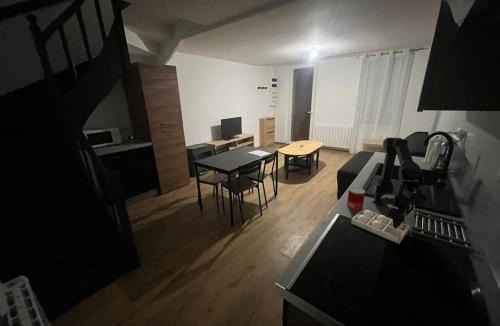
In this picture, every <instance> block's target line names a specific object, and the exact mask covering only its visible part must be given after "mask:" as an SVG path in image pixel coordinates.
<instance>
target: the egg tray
mask: <svg viewBox="0 0 500 326" xmlns="http://www.w3.org/2000/svg"><path fill="white" fill-rule="evenodd" d="M364 210H366V209H365V208H362V209H361V210H359V212H358V213H357V214H356V215H354V216H352V218H351V224H352V225H355V226H356V227H359V228H362V229H364V230H366V231H368V232H370V233H373V234H375V235H378V236H380V237H382V238H384V239H387V240H389V241H391V242H393V243H396V244H398V245H400V243H401V242H402V240H403V239H404V237H405V236H406V234H407V233H408V231H409V229H410V224H406V223H404V222H403V229H402V230H400V229H395V228H394V227H392V226H391V223H392V222H393V220H392V218H391V217H387V219H388V222H387V223H386V224H384V223H382V225H383V228H382V229H381V230H379V229H377V228H374V227H372V226H371V223H372V222H373V221H375V220H377V217H378V216H379V215H380V214H378V213H376V212H373V211H371V212H372V213H373V217H372V218H368V217H367V219H368V221H367V223H366V224H365V223H362V222H360V221H357V217H358V216H359V215H363V211H364Z"/></svg>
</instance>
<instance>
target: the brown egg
mask: <svg viewBox="0 0 500 326" xmlns="http://www.w3.org/2000/svg"><path fill="white" fill-rule="evenodd" d="M403 223H404V222H403ZM403 223H402V224H401V225H400V226H399V227H398V228H397V229H400V230H402V229H403ZM391 226H392V227H393V222H392V223H391Z"/></svg>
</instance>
